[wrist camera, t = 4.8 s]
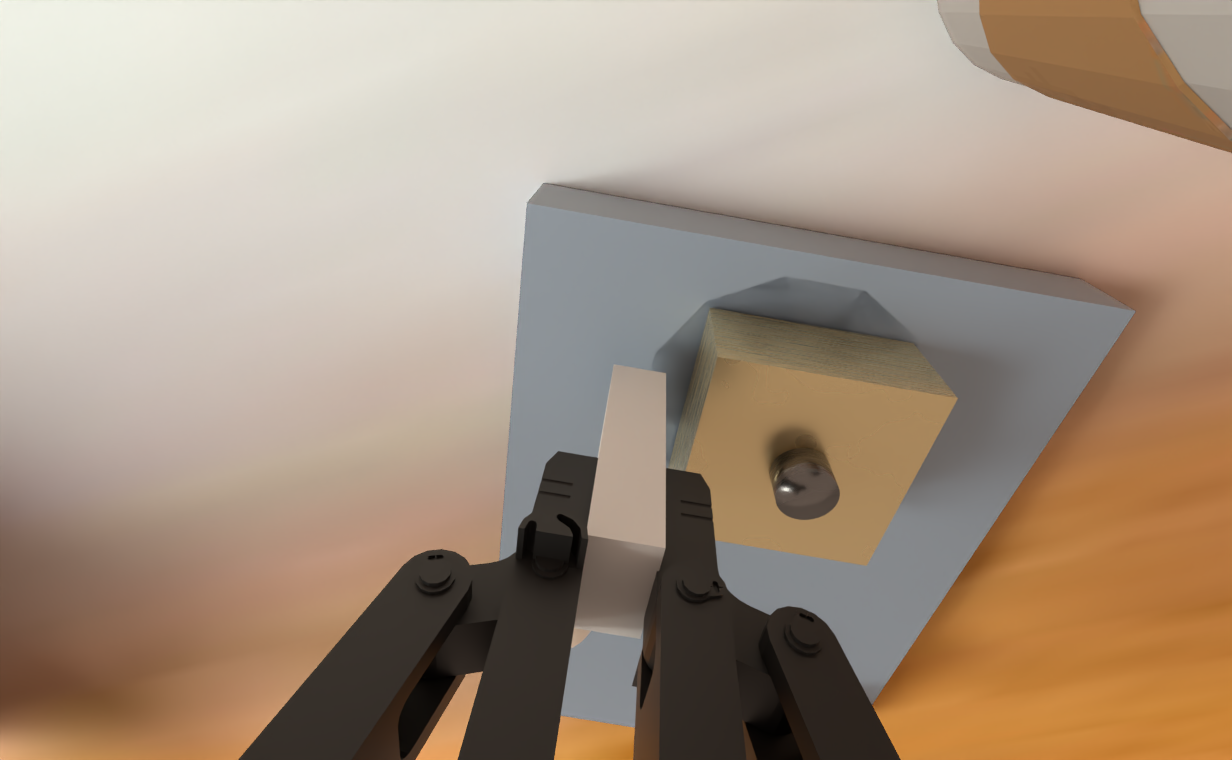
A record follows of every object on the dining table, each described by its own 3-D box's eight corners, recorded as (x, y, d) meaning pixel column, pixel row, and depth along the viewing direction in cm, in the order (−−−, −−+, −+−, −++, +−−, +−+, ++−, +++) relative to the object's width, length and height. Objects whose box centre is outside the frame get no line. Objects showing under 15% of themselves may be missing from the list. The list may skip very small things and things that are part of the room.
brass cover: (667, 468, 20) (668, 558, 16) (709, 307, 17) (720, 376, 13) (840, 497, 20) (877, 593, 17) (913, 343, 17) (976, 421, 14)
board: (500, 656, 30) (488, 703, 28) (543, 183, 18) (526, 202, 16) (823, 708, 31) (835, 759, 28) (1080, 278, 18) (1135, 311, 16)
